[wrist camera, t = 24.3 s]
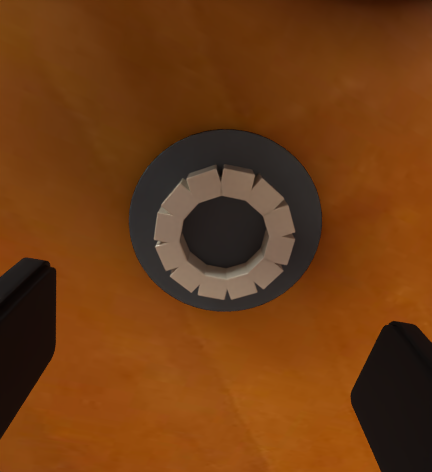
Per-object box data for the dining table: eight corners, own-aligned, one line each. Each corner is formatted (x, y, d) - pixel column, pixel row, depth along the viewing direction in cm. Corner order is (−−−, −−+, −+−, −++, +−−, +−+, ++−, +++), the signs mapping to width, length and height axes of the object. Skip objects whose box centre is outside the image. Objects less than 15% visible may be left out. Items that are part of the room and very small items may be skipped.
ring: (218, 135, 17) (218, 137, 15) (316, 225, 18) (323, 234, 17) (133, 235, 19) (127, 244, 18) (228, 308, 21) (229, 321, 19)
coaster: (216, 81, 16) (216, 80, 16) (359, 220, 19) (363, 223, 18) (94, 234, 19) (91, 237, 19) (231, 336, 22) (231, 341, 21)
